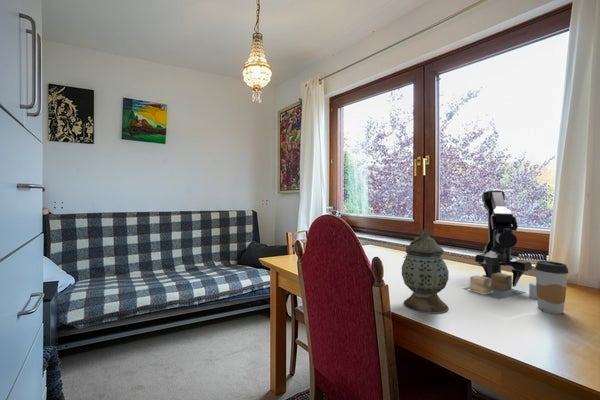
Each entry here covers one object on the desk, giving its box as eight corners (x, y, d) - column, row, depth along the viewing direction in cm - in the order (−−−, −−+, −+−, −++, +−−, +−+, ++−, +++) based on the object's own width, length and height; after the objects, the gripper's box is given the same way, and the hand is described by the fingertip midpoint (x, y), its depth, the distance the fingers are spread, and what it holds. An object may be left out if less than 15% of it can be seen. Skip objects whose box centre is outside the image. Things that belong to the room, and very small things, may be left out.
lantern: (427, 317, 92) (428, 232, 92) (392, 302, 105) (393, 228, 104) (458, 309, 98) (459, 231, 98) (421, 296, 111) (422, 226, 111)
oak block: (477, 288, 121) (478, 275, 121) (491, 291, 117) (491, 278, 116) (470, 289, 119) (470, 276, 119) (483, 293, 114) (483, 279, 114)
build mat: (488, 283, 129) (488, 282, 129) (526, 293, 116) (526, 292, 116) (461, 289, 120) (461, 288, 120) (498, 300, 108) (499, 299, 108)
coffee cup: (560, 307, 101) (561, 261, 101) (573, 317, 93) (574, 267, 93) (530, 304, 104) (530, 259, 104) (540, 313, 96) (541, 264, 96)
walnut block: (498, 284, 126) (498, 272, 126) (511, 288, 121) (511, 275, 121) (491, 286, 123) (491, 274, 123) (504, 289, 119) (504, 276, 119)
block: (532, 295, 114) (532, 281, 114) (549, 298, 111) (549, 284, 111) (529, 298, 111) (529, 284, 111) (546, 301, 107) (547, 287, 107)
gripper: (466, 242, 127) (466, 280, 127) (516, 249, 110) (515, 293, 110) (483, 240, 132) (482, 277, 132) (533, 247, 116) (532, 288, 116)
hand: (501, 283), depth 122 cm, fingers open, 9 cm apart
